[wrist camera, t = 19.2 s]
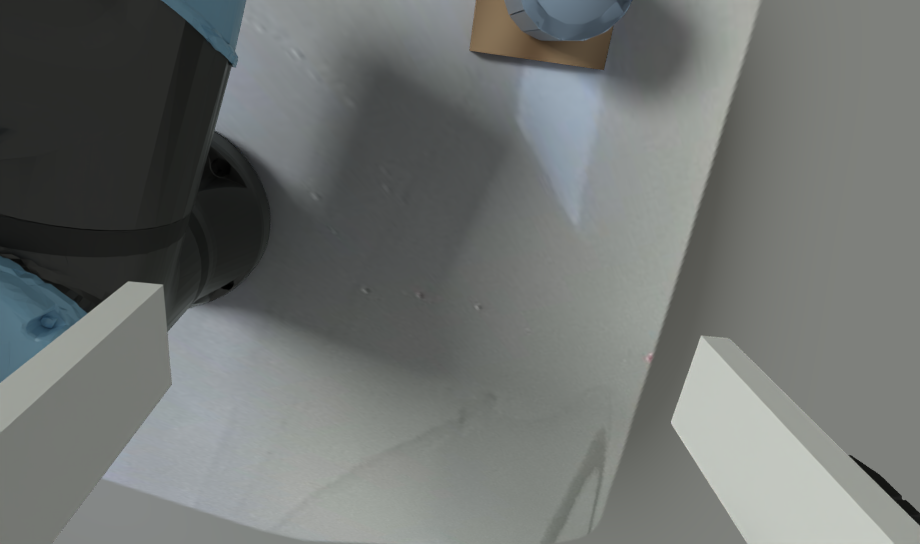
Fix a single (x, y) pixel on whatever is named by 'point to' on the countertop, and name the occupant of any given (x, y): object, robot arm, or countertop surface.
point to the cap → (566, 17)
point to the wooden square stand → (531, 40)
